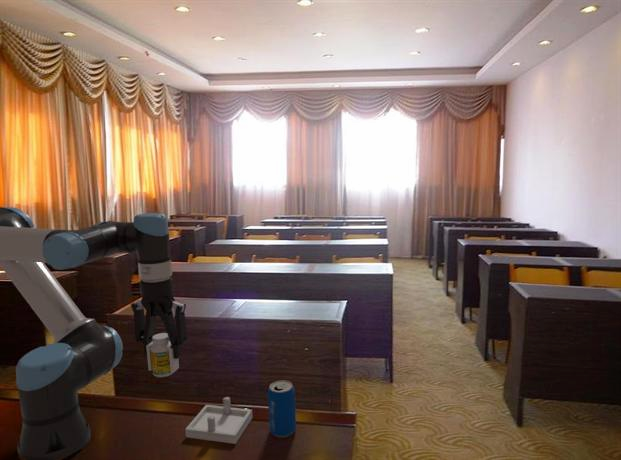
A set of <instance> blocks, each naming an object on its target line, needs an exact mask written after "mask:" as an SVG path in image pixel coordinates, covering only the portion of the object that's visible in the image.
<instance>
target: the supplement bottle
mask: <svg viewBox="0 0 621 460" xmlns="http://www.w3.org/2000/svg"><path fill="white" fill-rule="evenodd" d="M151 342H153V343H154V344H153V345H152V346H151V348H150V350H151V360H152V375H153V376H154V377H156V378H166V377H169V376H171V375H172V374H174V373H171V371H170V359H169V348H168V347H170V346H171V343H170V340H169V337H168V334H167V332H161V333H157V334H153V337H152V341H151Z"/></svg>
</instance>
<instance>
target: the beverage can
mask: <svg viewBox="0 0 621 460" xmlns="http://www.w3.org/2000/svg"><path fill="white" fill-rule="evenodd" d="M295 392H296V389H295V387H294V386H293V382H291V381H289V380H284V379H282V380H281V379H280V380H279V379H278V380H275V381H273V382H272V383H270V385H269V388H268V390H267V402H268V404H267V405H268V422H269V423H268V424H269V425H268V426H269V431H270V433H271V434H272V435H273V436H275V437H277V438H286V437H289V436H291V435H292V434H294V433H295V431H296V429H297V419H296V418H297V416H296V413H297V412H296V393H295Z"/></svg>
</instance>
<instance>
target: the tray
mask: <svg viewBox="0 0 621 460" xmlns="http://www.w3.org/2000/svg"><path fill="white" fill-rule="evenodd" d="M222 404H223V405H222V406H219V405H213V404H205V405H204V407H203V408H202V409H201V410H200V412H198V414H196V416H195V417H194V418H193V420H192V421H191V422H190V423H189V424H188V426H186V428H185V438H189V439H197V440H203V441H210V442H211V441H213V442H220V443H227V444H232V445H233V444H234V445H236V444H237V443H238V441H239V440H240V439H241V437H242V435H243V434H244V432H245V430H246V429H247V427H248V426H249V424H250V423H251V421H252V419H253V409H248V408H247V409H245V408H239V407H231V397H229V396H226V397H224V398H222Z"/></svg>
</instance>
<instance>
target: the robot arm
mask: <svg viewBox="0 0 621 460" xmlns="http://www.w3.org/2000/svg"><path fill="white" fill-rule="evenodd" d="M170 248H171V247H170V229H169V223H168V217H167V216H166V214H164V213H161V212H147V213H139V214H136V215H134V217H133V221H130V222H129V221H113V220H108V221H98V222H96V223H95V224H93V225H92V226H89V227H85V228H80V229H56V228H38V227H35V224H34V222H33V220H32V219H31V217H30V215H28V214H27V213H26V212H25V211H23V210H22V209H20V208H18V207H17V208H16V207H11V206H6V207H5V206H4V207H3V206H0V267H1V269H2V270H3V272H5V274H6V276H7V277H8V278H9V280H10V281H11V282H12V284H13V285H14V286H15V288H16V289H17V291H18V292H19V293H20V294H21V296H22V297H23V299H25V301H26V302H27V303H28V305H29V306H30V308H31V309H32V310H33V311H34V314H36V316H37V318H39V319H40V321H41V322H42V324H43V325H44V326H45V327H46V329H47V330H48V331H49V333H50V334H51V336H52V337H53V339H54V340H53V343H49V344H46V345H45V346H39V347H37V348H34V349H33V350H30V351H29V352H27V353H26V354H24V355H23V356H22V357H21V358H20V359H19V360H18V362H17V364H16V366H15V374H16V375H15V376H16V378H15V383H16V387H17V392H18V397H19V398H18V399H19V404H20V412H21V418H22V427H21V432H20V437H19V439H20V440H19V441H18V444H17V454H19V456H20V457H21V458H23V459H26V460H54V459H59V458H62V457H65V456H68V455H70V454H73V453H75V452H77V451H79V450H80V449H81V450H83V449H84V448H85V447H86V446H87V445H88V443H89V441H90V439H91V435H92V434H91V428H90V425H89V423H88V421H87V420H86V417H85V415H84V413H83V412H82V410H81V408H80V404H79V396H78V392H79V391H81V390H82V389H83V388H85V387H87V386H88V385H90V384H91V383H93V382H94V381H96V380H97V379H99V378H101V377H102V376H106V375H107V374H109V372H111V370H112V369H114V368H115V367H117V366H118V364H119V363H120V362H121V359H122V357H123V349H124V347H123V346H124V345H123V340H122V339H121V336H120V335H119V333H118V331H116V330H115V329H114V328H112V327H109V326H107V325H102V326H100V324H98V322H97V321H96V319H95V318H87V317H86V316H85V315H84V314H83V312H81V310H80V308H78V306H77V305H76V303H75V302H74V301H73V299H72V298H71V297H70V295H69V294H68V292H67V291H66V290H65V289H64V288H63V286H62V285H61V284H60V282H59V281H58V280H57V278H56V277H55V275H54V274H53V273H52V272H51V270H50V269H49V268H48V266H47V265H49V266H51V268H53V269H54V270H62V271H63V270H67V269H74V268H77V267H79V266H82V265H85V264H89V263H91V262H94V261H97V260H100V259H104V258H107V257H110V256H114V255H116V254H136V259H137V268H138V269H137V270H138V278H139V279H140V280H139V291H140V295H141V299H140V300H136V301H134V302H132V303H131V304H130V307H131V309H132V313H133V320H134V321H133V322H134V333H135V334H134V335H135V336H134V337H135V341H136V342H137V343H139V342H140V343H142V345H143V352H144V356H145V357H147V369H148V371H152V372H153V370H152V360H151V350H150V348H151V346H152V345H153V344H154V343H153V342H152V337H153V336H154V331H155V327H156V325H155V324H156V319H157V317H159V318H160V320H161V321H162V323H163V325H164V327H165V331H166V333H167V334H168V337H169V340H170V343H171V346H170V347H168V348H169V359H170V371H171V373H173V374H174V373H175V372H176V371H177V370H178V369H180V363H179V362H180V361H179V358H180V357H181V356H182V355H181V354H182V352H181V346H182V345H183V344H185V343H186V342H187V341H188V332H187V331H188V330H187V324H186V316H185V315H186V314H185V311H186V307H187V304H186V303H185V302H181V303H180V302H177V301H176V299H175V298H174V297H175V296H174V282H173V281H174V280H173V278H172V276H173V267H172V258H171V257H172V256H171V249H170ZM46 264H47V265H46ZM172 309H173V310H172ZM173 312H174V313H173ZM81 450H80V451H81ZM80 451H79V452H80ZM77 453H78V452H77Z"/></svg>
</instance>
